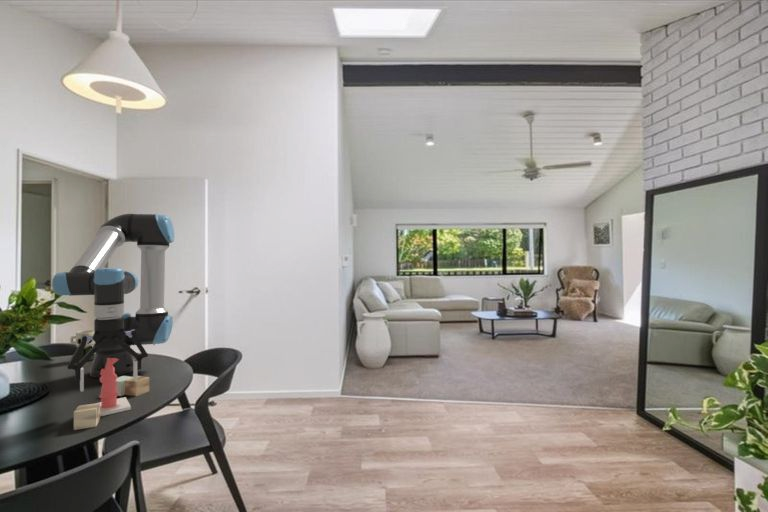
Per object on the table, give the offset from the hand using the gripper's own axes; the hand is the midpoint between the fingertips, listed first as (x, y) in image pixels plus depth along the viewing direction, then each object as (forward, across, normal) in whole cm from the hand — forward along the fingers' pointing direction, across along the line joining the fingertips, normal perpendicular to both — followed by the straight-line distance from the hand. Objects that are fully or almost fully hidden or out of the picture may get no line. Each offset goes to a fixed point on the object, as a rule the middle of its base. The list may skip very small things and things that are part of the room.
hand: (109, 385), depth 119 cm
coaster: (+7, 0, 0) cm, 7 cm away
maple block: (+7, -6, -9) cm, 13 cm away
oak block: (+8, +9, +10) cm, 15 cm away
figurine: (+6, 0, 0) cm, 7 cm away
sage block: (+8, +5, +13) cm, 16 cm away
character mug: (+8, -1, +70) cm, 70 cm away
